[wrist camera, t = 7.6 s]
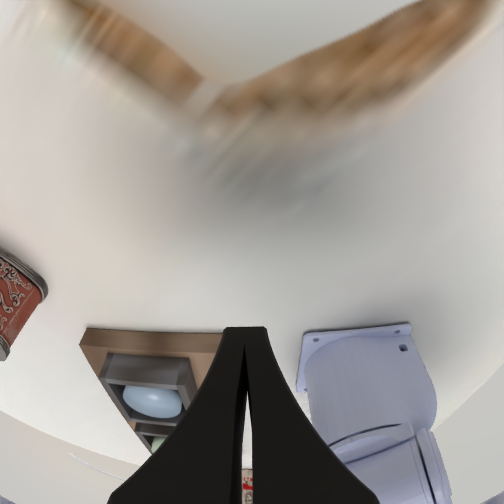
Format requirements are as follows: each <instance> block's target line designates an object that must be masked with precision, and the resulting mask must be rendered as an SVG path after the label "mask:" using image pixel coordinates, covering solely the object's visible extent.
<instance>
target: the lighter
mask: <svg viewBox="0 0 504 504" xmlns="http://www.w3.org/2000/svg"><path fill="white" fill-rule="evenodd" d="M47 294H48V287H47V284H46V282H45V281H44V279H43V278H42V277H41V276H39V275H38V274H37V273H36V272H35V271H33V270H32V269H31V268H30V267H29V266H28V265H26V264H25V263H23V262H22V261H21V260H19V259H18V258H17V257H15V256H14V255H12V254H11V253H9V252H8V251H6V250H4V249H3V248H1V247H0V361H5V360H6V358H7V357H8V355H9V353H10V347H11V345H12V344H13V342H14V340H15V339H16V337H17V336H18V334H19V332H20V331H21V329H22V328H23V326H24V325H25V323H26V322H27V320H28V319H29V317H30V316H31V314H32V313H33V311H34V310H35V308H36V307H37V305H38V304H41V303H42V302H43V300H44V299H45V298H46V296H47Z"/></svg>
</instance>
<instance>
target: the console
mask: <svg viewBox="0 0 504 504" xmlns="http://www.w3.org/2000/svg"><path fill="white" fill-rule="evenodd" d="M222 335H223V333H163V332H138V331H120V330H105V329H92V328H87V329H86V331H85V333H84V335H83V337H82V339H81V341H80V343H79V346H80V348H81V349H82V351H83V353H84V355H85V357H86V358H87V360H88V362H89V364H90V365H91V367H92V369H93V371H94V372H95V374H96V376H97V377H98V379H99V380H100V382H101V384H102V385H103V387H104V389H105V390H106V392H107V393H108V395H109V396H110V398H111V399H112V401H113V402H114V404H115V405H116V407H117V408H118V410H119V411H120V413H121V414H122V416H123V417H124V418H125V420H126V421H127V423H128V424H129V425H130V427H131V428H132V429H133V431H134V432H135V434H136V435H137V436H138V437H139V439H140V440H141V441H142V443H143V444H144V445H145V447H146V448H147V449H148V450H149V452H150V453H151V454H153V453H152V451H151V448H152V443H153V437H154V436H158V437H167V436H168V435H169V434H170V432H171V431H172V430H173V429H174V427H175V426H176V425H177V423H178V422H179V420H180V419H181V417H182V416H183V414H184V413H185V411H186V410H187V408H188V407H189V405H190V403H191V402H192V400H193V398H194V397H195V395H196V393H197V391H198V389H199V388H200V386H201V384H202V382H203V380H204V378H205V376H206V374H207V372H208V370H209V368H210V366H211V364H212V362H213V359H214V357H215V354H216V352H217V349H218V347H219V344H220V341H221V338H222ZM126 385H128V386H137V387H147V388H159V389H173V390H178V392H179V394H180V397H181V400H182V407H181V412H180V413H179V414H178V415H177V416H174V417H170V418H157V417H151V416H148V415H145V414H142V413H140V412H138V411H136V410H134V409H133V408H131V407H130V406H129V405H128V404H127V403H126V402H125V401H124V399H123V393H124V390H125V386H126Z"/></svg>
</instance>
